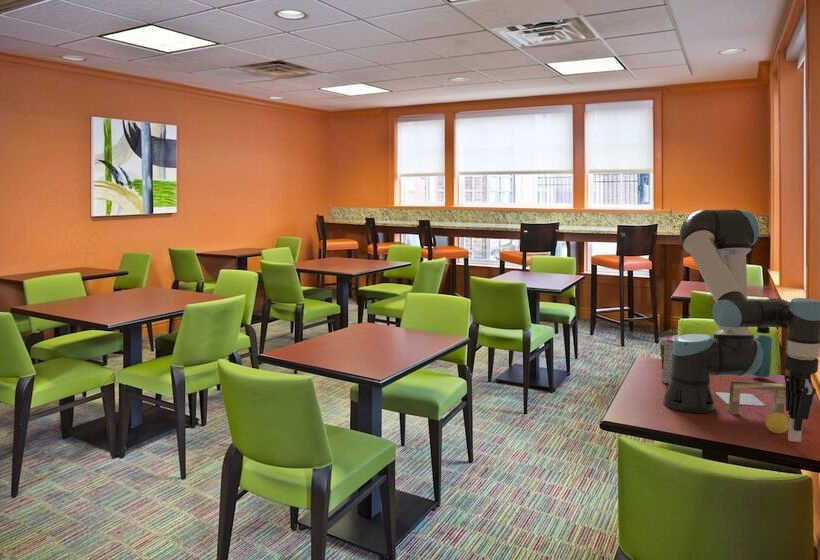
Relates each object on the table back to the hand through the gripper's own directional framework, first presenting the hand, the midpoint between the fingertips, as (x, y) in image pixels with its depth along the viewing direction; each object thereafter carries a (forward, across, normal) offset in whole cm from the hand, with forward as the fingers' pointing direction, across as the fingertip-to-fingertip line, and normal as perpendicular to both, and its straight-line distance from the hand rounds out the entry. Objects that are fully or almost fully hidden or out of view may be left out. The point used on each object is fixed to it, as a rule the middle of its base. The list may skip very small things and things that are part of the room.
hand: (794, 440), depth 166 cm
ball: (-1, +11, 0) cm, 11 cm away
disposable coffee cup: (+2, +76, +14) cm, 77 cm away
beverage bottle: (+2, +68, -16) cm, 70 cm away
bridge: (+2, +27, 0) cm, 27 cm away
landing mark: (+2, +41, 0) cm, 41 cm away
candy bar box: (+2, +59, +17) cm, 61 cm away
